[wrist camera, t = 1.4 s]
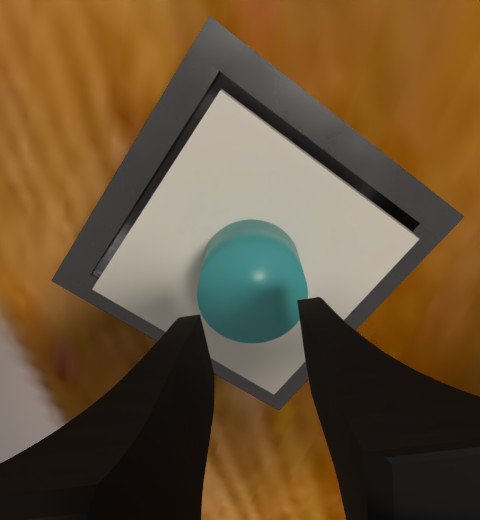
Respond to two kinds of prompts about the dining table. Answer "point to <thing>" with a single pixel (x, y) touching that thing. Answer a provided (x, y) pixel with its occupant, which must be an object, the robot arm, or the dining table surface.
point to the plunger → (251, 244)
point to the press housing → (287, 123)
